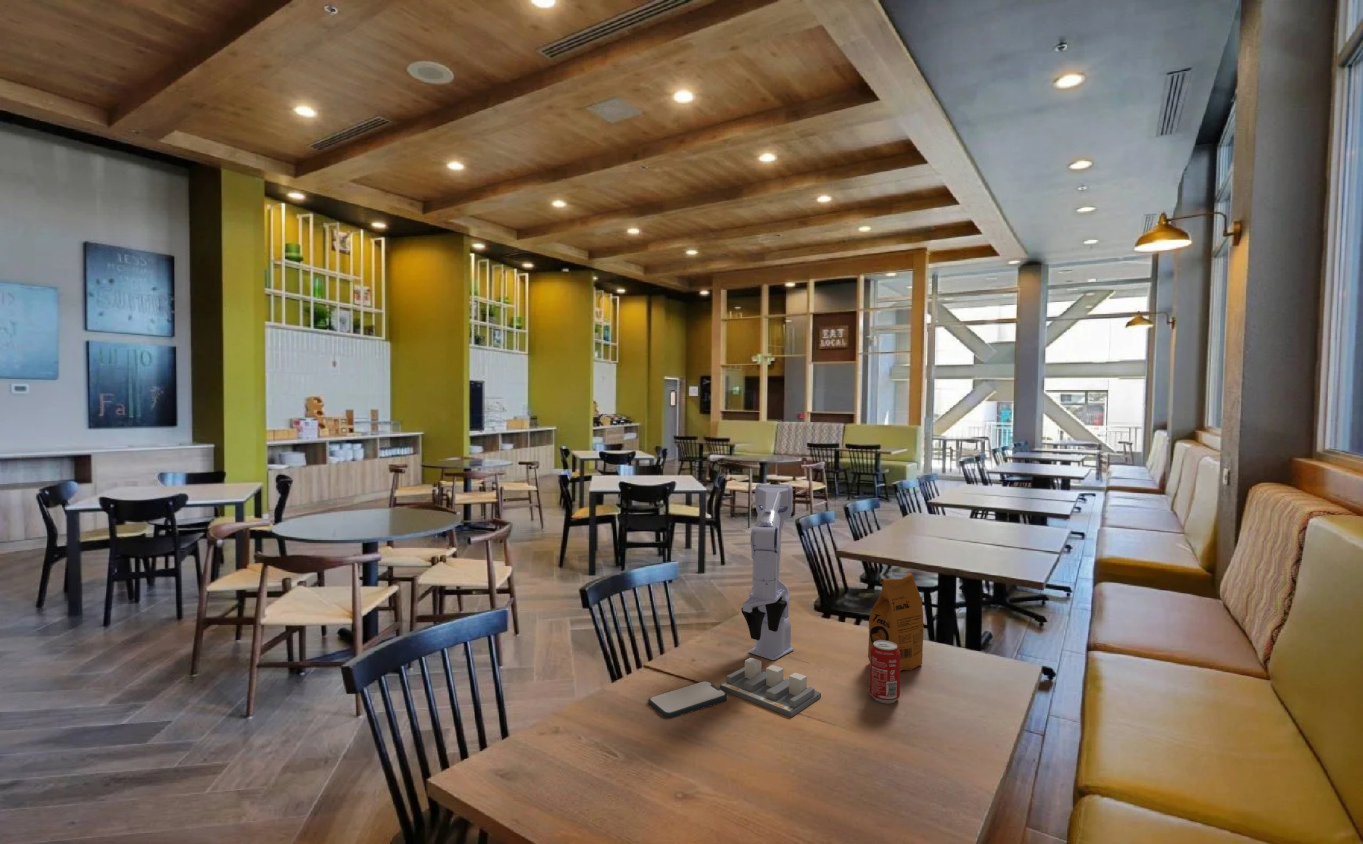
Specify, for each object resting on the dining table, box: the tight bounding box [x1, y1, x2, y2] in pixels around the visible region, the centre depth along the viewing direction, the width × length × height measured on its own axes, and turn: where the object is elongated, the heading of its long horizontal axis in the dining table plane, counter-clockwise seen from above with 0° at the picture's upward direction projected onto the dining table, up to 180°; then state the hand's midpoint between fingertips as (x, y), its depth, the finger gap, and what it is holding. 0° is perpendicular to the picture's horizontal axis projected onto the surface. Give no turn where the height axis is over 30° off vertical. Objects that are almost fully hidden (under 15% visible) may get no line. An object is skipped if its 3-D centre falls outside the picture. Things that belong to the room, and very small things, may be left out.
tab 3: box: [788, 672, 808, 696], centre depth 142 cm, size 2×3×4 cm
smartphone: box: [647, 680, 728, 719], centre depth 140 cm, size 9×2×16 cm
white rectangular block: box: [765, 664, 784, 687], centre depth 146 cm, size 2×3×4 cm
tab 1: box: [744, 657, 762, 679], centre depth 150 cm, size 2×3×4 cm
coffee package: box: [867, 572, 924, 672], centre depth 160 cm, size 10×12×22 cm
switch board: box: [718, 666, 822, 718], centre depth 144 cm, size 12×19×2 cm, turn 48°
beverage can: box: [869, 640, 901, 704], centre depth 142 cm, size 6×6×12 cm
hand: (764, 634), depth 153 cm, fingers open, 7 cm apart
